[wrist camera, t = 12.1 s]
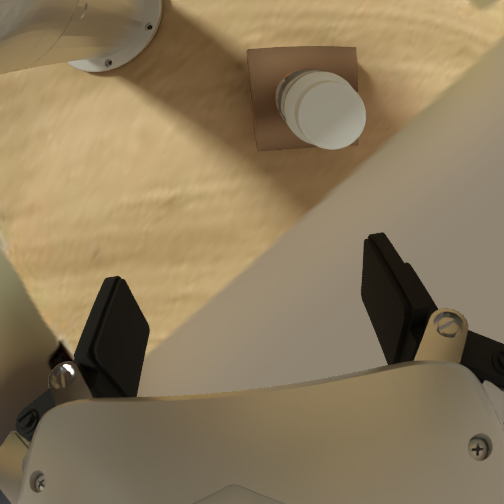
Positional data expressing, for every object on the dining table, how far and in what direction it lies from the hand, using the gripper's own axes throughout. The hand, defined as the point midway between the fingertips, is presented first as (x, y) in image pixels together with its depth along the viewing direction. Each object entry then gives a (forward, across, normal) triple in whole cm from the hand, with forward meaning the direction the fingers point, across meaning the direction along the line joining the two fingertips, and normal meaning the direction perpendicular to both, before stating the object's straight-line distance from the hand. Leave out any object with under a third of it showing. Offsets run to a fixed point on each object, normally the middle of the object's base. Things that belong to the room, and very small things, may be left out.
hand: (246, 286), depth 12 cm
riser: (+25, -7, -3) cm, 26 cm away
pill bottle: (+21, -7, -3) cm, 22 cm away
